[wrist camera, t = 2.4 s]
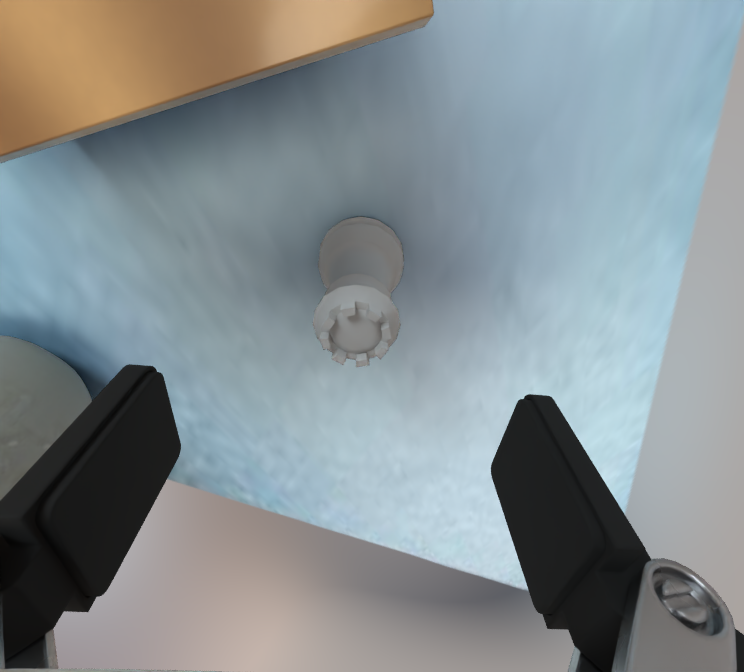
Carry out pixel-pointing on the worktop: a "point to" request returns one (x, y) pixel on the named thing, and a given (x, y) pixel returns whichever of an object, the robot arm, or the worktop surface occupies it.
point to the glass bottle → (33, 405)
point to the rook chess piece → (358, 290)
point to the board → (162, 55)
